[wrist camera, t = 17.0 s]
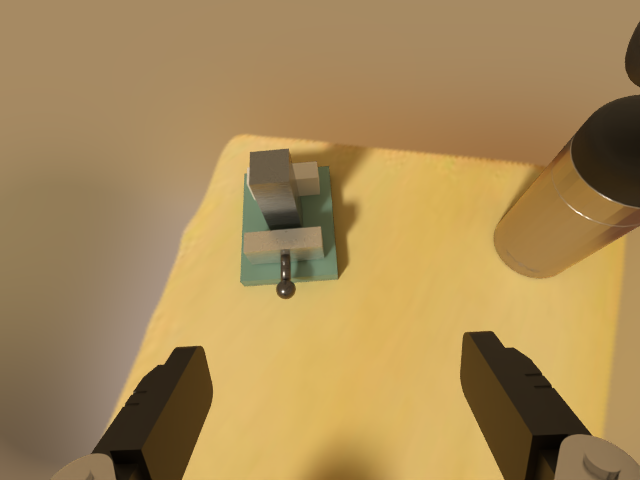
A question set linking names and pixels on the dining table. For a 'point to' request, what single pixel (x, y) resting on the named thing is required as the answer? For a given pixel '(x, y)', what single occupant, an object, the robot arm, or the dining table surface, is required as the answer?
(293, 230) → the vise jaw
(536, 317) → the dining table surface
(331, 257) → the vise
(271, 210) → the steel bar
